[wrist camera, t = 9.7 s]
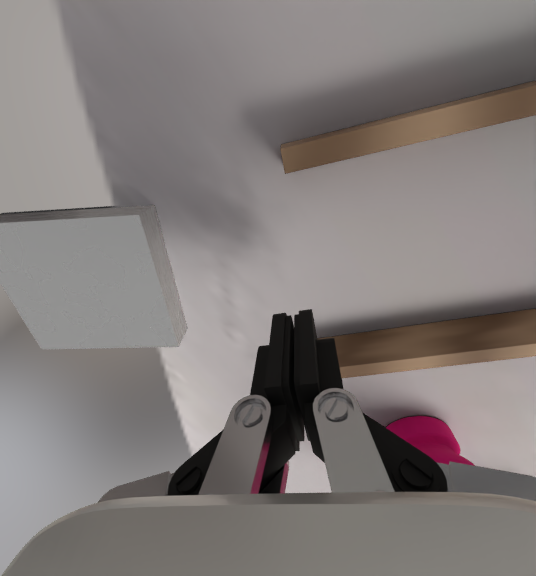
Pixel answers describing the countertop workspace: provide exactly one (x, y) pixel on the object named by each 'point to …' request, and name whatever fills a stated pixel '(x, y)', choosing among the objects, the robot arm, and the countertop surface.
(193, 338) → the countertop surface
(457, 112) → the wooden u-shaped frame
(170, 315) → the cover plate
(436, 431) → the pepper mill
